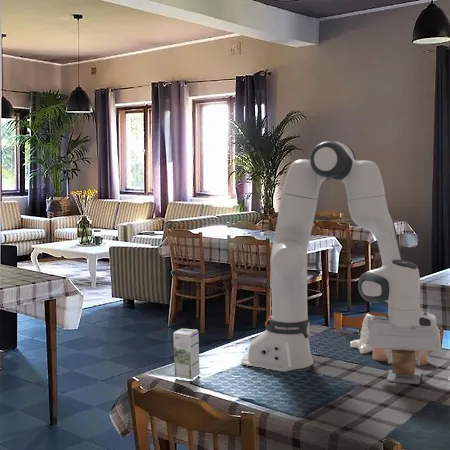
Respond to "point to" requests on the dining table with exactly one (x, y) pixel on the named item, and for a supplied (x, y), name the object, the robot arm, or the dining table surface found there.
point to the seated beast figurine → (363, 338)
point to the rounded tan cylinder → (380, 354)
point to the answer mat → (404, 378)
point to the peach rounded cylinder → (424, 358)
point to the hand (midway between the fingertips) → (404, 363)
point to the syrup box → (186, 353)
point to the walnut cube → (403, 361)
